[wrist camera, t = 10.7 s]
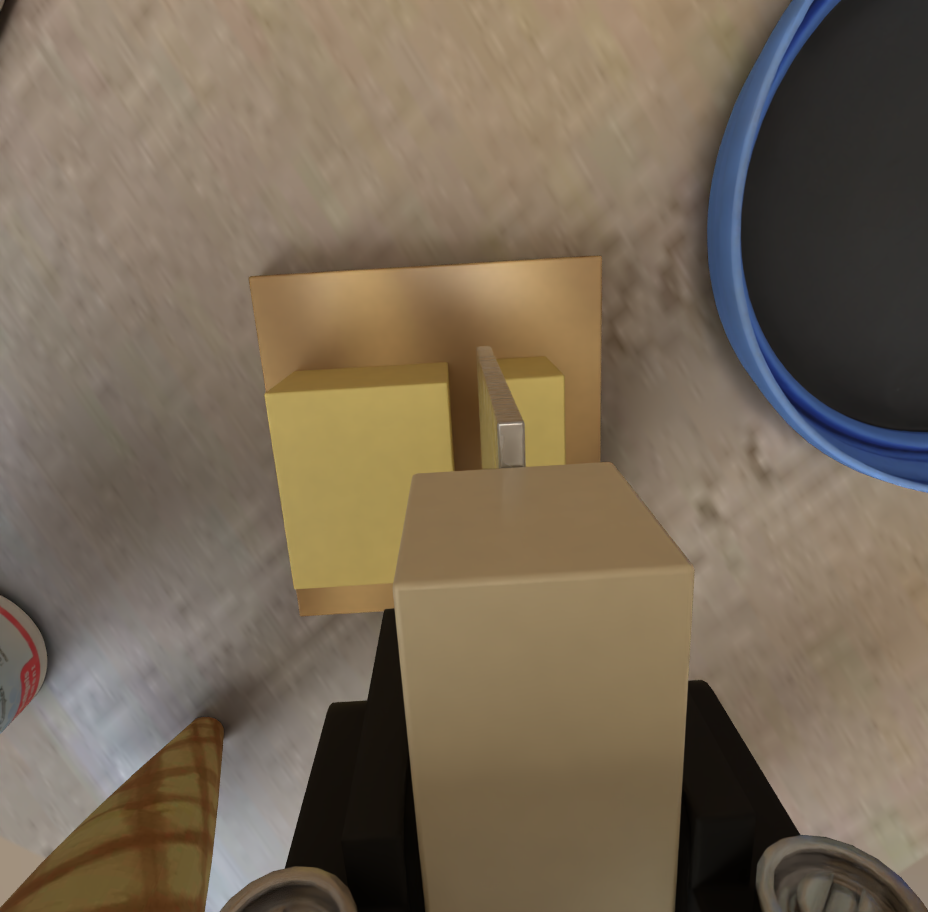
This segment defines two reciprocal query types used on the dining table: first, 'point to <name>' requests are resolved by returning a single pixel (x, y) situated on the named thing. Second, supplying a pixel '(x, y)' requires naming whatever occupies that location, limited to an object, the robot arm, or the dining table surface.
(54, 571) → the dining table surface
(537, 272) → the board
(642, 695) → the knife
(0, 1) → the smartphone
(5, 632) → the pill bottle
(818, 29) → the bowl
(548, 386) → the butter slice
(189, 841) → the ice cream cone
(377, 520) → the butter block
